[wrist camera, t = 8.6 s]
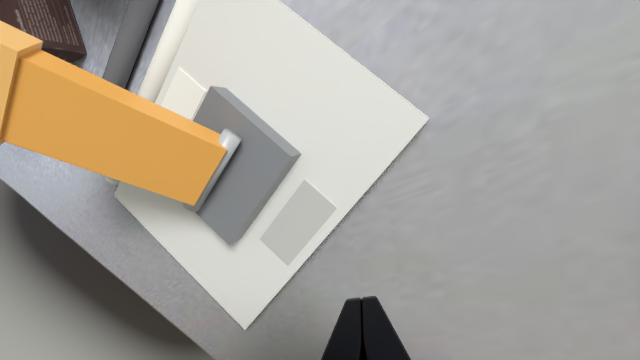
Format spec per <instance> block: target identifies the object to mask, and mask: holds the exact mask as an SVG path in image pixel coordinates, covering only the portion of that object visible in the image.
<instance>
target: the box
mask: <svg viewBox="0 0 640 360" xmlns="http://www.w3.org/2000/svg"><path fill="white" fill-rule="evenodd" d="M0 21H2V22H4V23H7V24H9V25H11V26H13V27H15V28H17V29H19V30H21V31H23V32H25V33H27V34H29V35H31V36H33V37H36V38H38V39H40V40H42V41H43V44H42V48H41V50H43V51H45V52H47V53H49V54H51V55H53V56H55V57H58V58H60V59H62V60H64V61H66V62H68V63H71V62H73V61H75V60H76V59H78V58H80V57H81V56H83V55H85V54H86V52H85V48H84V45H83V42H82V38H81V35H80V32H79V29H78V27H77V24H76V20H75V18H74V15H73V12H72V8H71V6H70V3H69V0H0Z"/></svg>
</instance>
